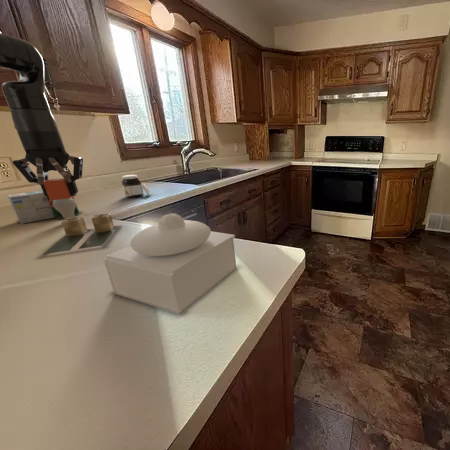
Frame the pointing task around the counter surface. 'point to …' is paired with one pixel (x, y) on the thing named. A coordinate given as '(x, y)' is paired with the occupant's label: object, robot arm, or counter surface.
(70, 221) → the tan wooden cube
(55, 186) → the orange block
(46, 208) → the light bulb box
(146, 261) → the butter dish
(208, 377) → the counter surface
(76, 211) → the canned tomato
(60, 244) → the dark green flat slab
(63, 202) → the lightbulb
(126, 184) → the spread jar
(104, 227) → the tan wooden block
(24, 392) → the counter surface
